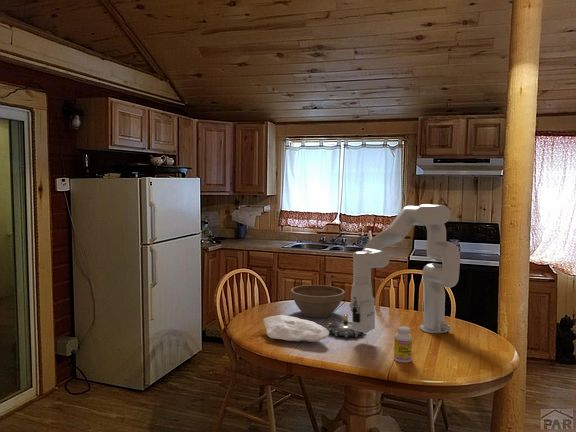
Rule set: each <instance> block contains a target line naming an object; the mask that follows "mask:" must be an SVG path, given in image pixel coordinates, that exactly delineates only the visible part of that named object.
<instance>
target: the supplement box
mask: <svg viewBox="0 0 576 432" xmlns="http://www.w3.org/2000/svg"><path fill="white" fill-rule="evenodd" d="M355 305H356V306H358V304H357V303H355ZM375 306H376V305H375V300H374V301H373V300H371V301H367V302H364V303H362V304H361V307H360V310H359V314H360V322H359V323H357V322H354V321H353V313H352V312H351V317H352V318H351V321H352V330H355V331H359V332H364V334H367V333H368V332H371V331H372V330H374V329H376V326H375V325H376V323H375V322H376V320H375V315H376V313H375ZM355 309H356V310H357V307H355Z"/></svg>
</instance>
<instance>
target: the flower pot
mask: <svg viewBox="0 0 576 432" xmlns="http://www.w3.org/2000/svg"><path fill="white" fill-rule="evenodd" d="M345 293H346V291H345V290H344V289H343V288H340V287H336V286H332V285H321V284H307V285H298V286H295V287H293V288H292V287H291V289H290V297H291V298H292V299H293V300H294V303H295V305H296V306H297V309H298V310H300V312H301V313H303V315H304V316H305V317H308V318H314V319H316V318H317V319H319V318H320V319H321V318H327V317H330V316H331V314H332V313H334V312H335V311H336V310H337V309H338V307H339V306H340V304H341V302H342V301H343V300H344V299H345V296H346V294H345Z"/></svg>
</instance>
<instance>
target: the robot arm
mask: <svg viewBox="0 0 576 432" xmlns="http://www.w3.org/2000/svg"><path fill="white" fill-rule="evenodd" d="M450 218H451V210H450V208H449V206H448V207H447V206H446V205H443V204H432V203H424V204H419V205H406V206H404V207H403V208H402V209H401V210H400V211H399V212H398V214H397V215H396V217H395V218H394V219H393V221H391V223H390V224H389V226H387V228H386V229H384V230H382V231H380V232H379V233H378V234H376V235H375V236H373V237H372V238H371V239H369V240H368V242H367V243H366V244H365V245H364V247H363V249H362V250H360V251H359V250H357V251H354V253H353V254H352V267H353V268H352V270H353V271H352V275H353V281H352V282H353V283H352V285H351V291H350V303H349V304H348V307H349V309H350V310H351V314H352V313H353V321H354V322H357V323H359V322H360V314H359V310H360V307H361V304H362V303H364V302H367V301H371V300H373V301H374V302H375V301H376V298H375V297H374V296H373V287H372V268H375V269H376V268H377V269H382V268H385V267H387V266H388V264H389V262H390V256H389V254H388V253H387V252H386V251H384V250H383V249H384V248H385V247H388V246H390V245H394V244H396V243H399V242H401V241H403V240H404V239H405V237H407V235H408V233H409V232H410V231H411V230H412V228H413V227H414V226H420V227H421V226H422V227H424V226H425V227H426V232H427V233H426V235H427V236H426V238H427V239H426V257H427V258H428V259H429V260H431V261H435V262H439V263H435V262H431V263H427V264H426V265H424V266H423V269H422V272H421V273H422V275H421V276H422V282H423V317H422V318H423V321H422V322H423V323H422V324H420V325H419V329H420V331H422V332H425V333H429V334H445V333H447V332H448V331H450V332H451V331H452V325H449V324H447V321H446V320H445V311H446V309H445V308H446V307H445V306H446V304H445V303H446V291H445V288H453V287H455V286H456V285H457V284H458V282H459V278H460V268H461V267H460V265H461V252H460V249H459V247H458V246H457V245H456V244H455V243H452V242H447V228H446V225H445V224H447V222H449V220H450ZM440 263H442V264H440ZM355 303H357V304H358V306H356V305H355ZM355 307H357V310H356V309H355Z"/></svg>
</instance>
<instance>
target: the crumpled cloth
mask: <svg viewBox="0 0 576 432" xmlns="http://www.w3.org/2000/svg"><path fill="white" fill-rule="evenodd" d="M262 320H263V325H264V327H265V329H266V330H265V331H266V335H267V336H268V337H269V338H270V339H277V340H284V341H287V342H288V341H289V342H293V341H294V342H309V343H310V342H312V343H315V342H316V343H320V341H322V340H326V338H328V337H329V331H328V330H327V329H326V327H325V326H323V325H320V324H318V323H316V322H314V321H311V320H308V319H302V318H299V317H295V316H290V315H287V314H285V315H284V314H280V315H279V314H278V315H273V316H268V317H265V318H263V319H262Z"/></svg>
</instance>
